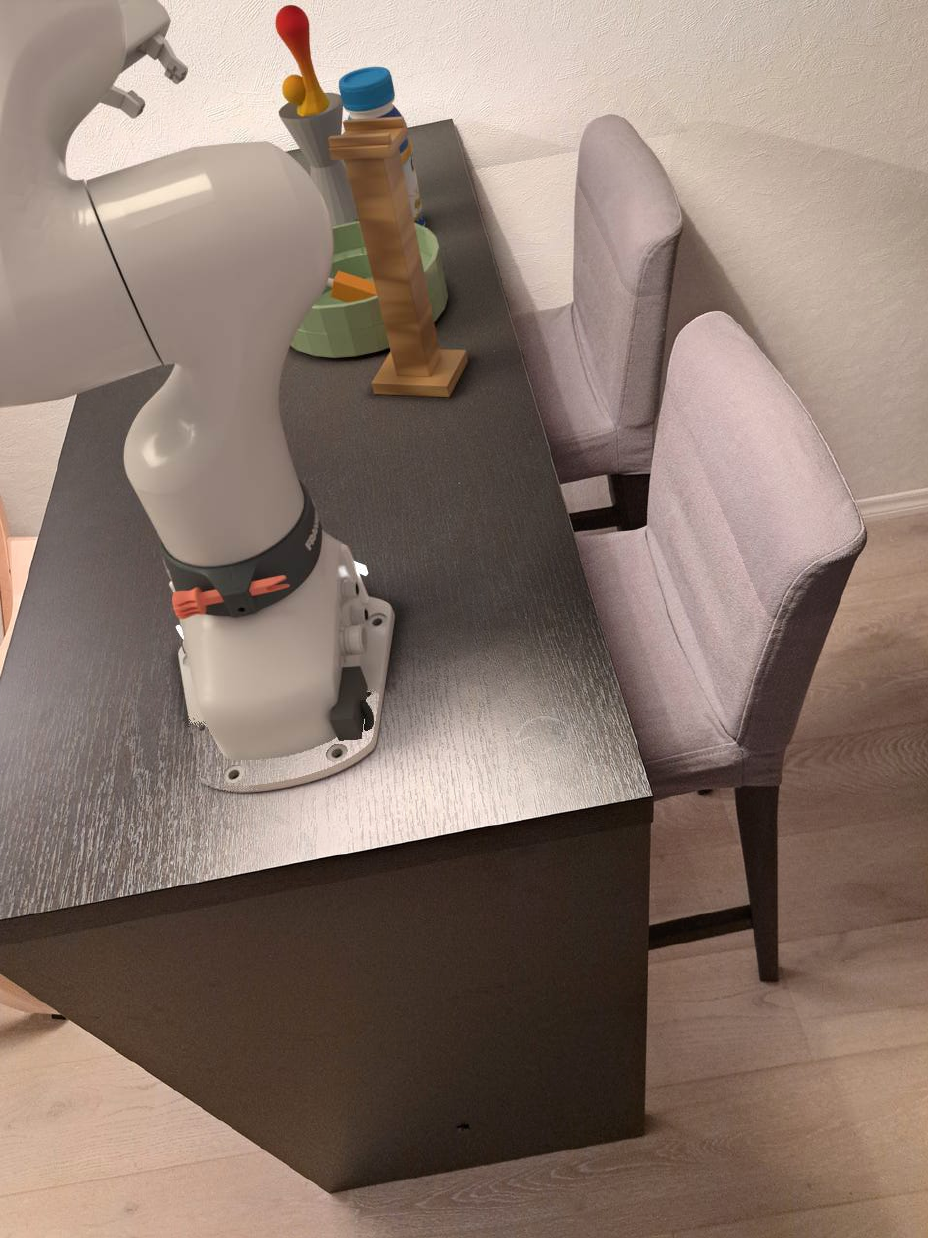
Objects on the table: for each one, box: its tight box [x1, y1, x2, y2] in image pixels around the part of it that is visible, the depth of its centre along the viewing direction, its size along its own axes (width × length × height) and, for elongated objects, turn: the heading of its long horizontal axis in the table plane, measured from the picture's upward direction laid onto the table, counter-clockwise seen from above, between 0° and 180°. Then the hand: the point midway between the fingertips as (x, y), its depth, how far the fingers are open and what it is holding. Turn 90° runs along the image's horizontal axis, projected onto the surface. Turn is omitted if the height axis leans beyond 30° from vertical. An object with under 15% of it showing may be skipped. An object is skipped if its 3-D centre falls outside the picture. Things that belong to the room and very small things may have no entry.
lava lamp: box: [274, 4, 359, 227], centre depth 126 cm, size 9×9×35 cm
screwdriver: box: [326, 271, 377, 303], centre depth 115 cm, size 16×2×2 cm, turn 79°
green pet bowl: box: [290, 220, 449, 359], centre depth 115 cm, size 21×21×7 cm
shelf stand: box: [328, 116, 469, 398], centre depth 96 cm, size 9×7×27 cm
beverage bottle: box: [338, 66, 426, 227], centre depth 125 cm, size 8×8×20 cm
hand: (162, 93), depth 102 cm, fingers open, 8 cm apart
